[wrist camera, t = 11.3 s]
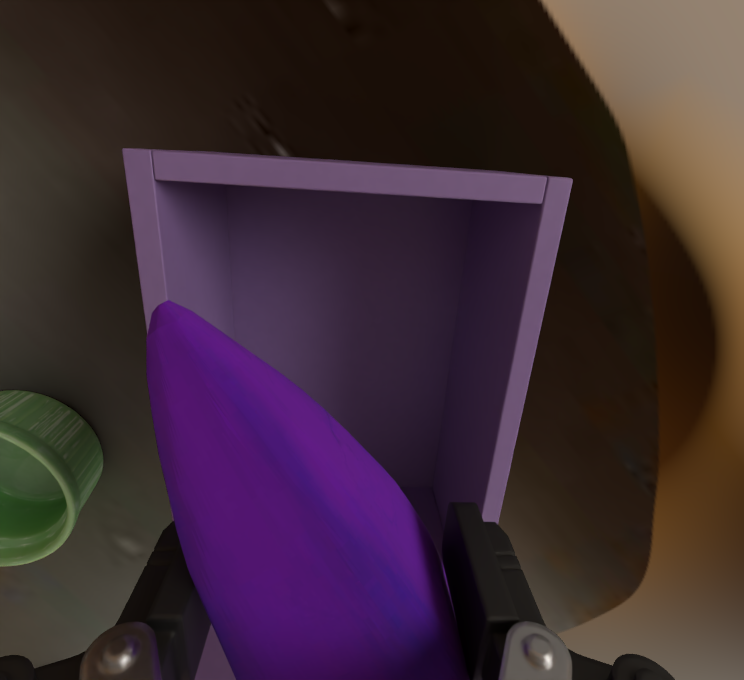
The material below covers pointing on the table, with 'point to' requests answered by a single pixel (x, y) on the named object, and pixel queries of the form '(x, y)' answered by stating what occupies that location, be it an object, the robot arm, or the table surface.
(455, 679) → the purple teardrop shape
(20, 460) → the ramekin
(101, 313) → the table surface
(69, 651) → the table surface
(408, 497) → the file box
